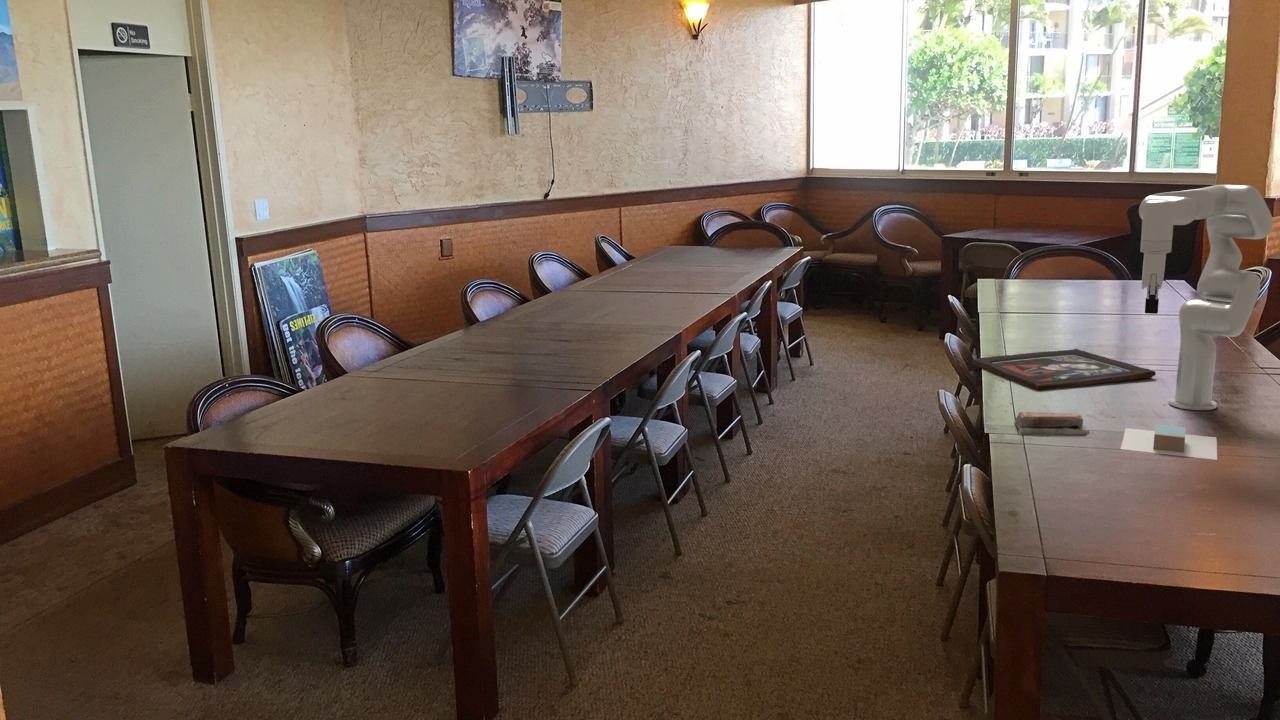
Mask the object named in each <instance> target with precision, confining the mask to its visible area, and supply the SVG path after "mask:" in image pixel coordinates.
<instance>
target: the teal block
mask: <svg viewBox="0 0 1280 720" xmlns="http://www.w3.org/2000/svg"><path fill="white" fill-rule="evenodd" d="M1186 430H1187V428H1186V426H1180V425H1178V426H1177V425H1170V424H1169V425H1168V424H1157V423H1155V429H1154V431H1155V434H1154V446H1153V449H1155V450H1164V451H1173V452H1183V453H1184V444H1185V434H1186Z"/></svg>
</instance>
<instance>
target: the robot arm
mask: <svg viewBox="0 0 1280 720" xmlns="http://www.w3.org/2000/svg"><path fill="white" fill-rule="evenodd" d="M1138 214H1139V218H1140V220H1141V235H1140V236H1141V237H1140V249H1139V250H1140V253H1143V262H1142V273H1141V275H1142V276H1141V289H1142V290H1145V289H1146V288H1147V289H1146V290H1147V291H1146V297H1145V302H1144V303H1145V304H1144V314H1154V315H1155V314H1158V313H1159V303H1160V302H1159V290H1161V289H1162V286H1163V282H1164V279H1165V278H1164V277H1165V268H1166V262H1167V261H1166V259H1167V254H1169V253H1172V248H1173V247H1172V246H1173V235H1174V233H1173V232H1174V226H1187V225H1188V224H1190V223H1192V222H1193V221H1194V220H1195V221H1196V220H1203V219H1206V220H1205V221H1206V223H1205V224H1206V225H1205V226H1206V231H1207V236H1208V241H1209V248H1210V250H1209V254H1208V257H1207V260H1206V263H1205V265H1204V268H1203V269H1202V272H1201V275H1200V277H1199V280H1198V282H1197V285H1196V286H1197V287H1196V291H1197V294H1198V295H1199V296H1200V297H1202V298H1203V299H1191V300H1187V301H1184V303H1183V304H1182V305H1181V306H1180V308H1179V312H1178V324H1179V335H1180V337H1179V352H1178V360H1177V361H1178V362H1177V371H1176V383H1175V393H1174V396H1172V397H1169V399H1168V404H1170V406H1172V407H1175V408H1178V409H1183V410H1190V411H1210V410H1211V411H1212V410H1214V409H1216V408H1217V406H1218V403H1217V402H1216V401H1215V400H1212V399H1213V398H1212V396H1213V387H1214V376H1215V366H1216V360H1217V359H1216V357H1217V346H1216V343H1215V340H1214V339H1213V337H1212V336H1213V335H1214V336H1222V337H1229V338H1235V337H1238V336H1240V335H1241V334H1242V333H1243V331H1244V330H1245V329H1246V326H1247V324H1248V322H1249V319H1250V317H1251V314H1252V312H1253V311H1254V307H1255V305H1256V303H1257V300H1258V299H1259V295H1260V290H1261V279H1260V277H1259V275H1258V274H1257V273H1255V272H1253V271H1251V270H1243V269H1240V265H1241V264H1242V261H1243V254H1242V252H1241V250H1240V247H1238V245H1237V244H1236V242H1235V240H1234V239H1244V240H1246V239H1247V240H1263V239H1265V238H1266V237H1267V236H1269V234H1271V231H1272V229H1273V223H1274V222H1273V217H1272V213H1271V211H1270V209H1269V206H1268V205H1267V203H1266V201H1265V199H1264V198H1263V196H1262V193H1260V191H1259V190H1258V189H1257V188H1256V187H1254V186H1252V185H1247V184H1246V185H1243V184H1241V185H1240V184H1216V185H1211V186H1205V187H1201V188H1196V189H1195V188H1194V189H1187V190H1185V189H1184V190H1180V191H1170V192H1169V191H1168V192H1160V193H1155V194H1151V195H1148V196H1146V197H1145V198H1144V199H1143V200H1142V201H1141V203H1140V205H1139V208H1138Z"/></svg>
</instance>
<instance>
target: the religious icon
mask: <svg viewBox="0 0 1280 720" xmlns="http://www.w3.org/2000/svg"><path fill="white" fill-rule="evenodd" d="M971 364H972V365H974V366H975V367H978V368H981V369H983V370H985V371H988V372H990V373H992V374H995V375H998V376H1001V377H1003V378H1006V379H1008V380H1010V381H1013V382H1015V383H1018V384H1020V385H1022V386H1025V387H1026V388H1027V387H1028V388H1029V389H1032V390H1035V391H1046V390H1056V389H1057V390H1058V389H1066V388H1072V387H1073V388H1076V387H1084V386H1089V385H1098V384H1106V383H1107V384H1109V383H1115V382H1126V381H1133V380H1142V379H1143V380H1145V379H1151V378H1153V377H1155V376H1156V371H1155V370H1151V369H1150V368H1146V367H1145V368H1144V367H1140V366H1137V365H1133V364H1131V363H1127V362H1124V361H1123V362H1122V361H1120V360H1115V359H1112V358H1110V357H1109V358H1108V357H1105V356H1101V355H1098V354H1094V353H1092V352H1087V351H1085V350H1081V349H1078V348H1074V349H1064V350H1062V349H1061V350H1060V349H1059V350H1053V351H1039V352H1037V351H1036V352H1027V353H1017V354H1010V355H1009V354H1008V355H996V356H987V357H986V356H985V357H979V358H974V359H971Z"/></svg>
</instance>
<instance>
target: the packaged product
mask: <svg viewBox="0 0 1280 720" xmlns="http://www.w3.org/2000/svg"><path fill="white" fill-rule="evenodd" d="M1014 425H1015V427H1016V428H1017V429H1018V431H1019V432H1020V433H1021V434H1040V435H1044V434H1045V435H1087V434H1089V433H1090V429H1089V428H1087V427H1086V426H1085V425H1084V419H1083V417H1082V415H1081V414H1077V413H1069V412H1068V413H1065V412H1042V411H1041V412H1039V411H1038V412H1037V411H1035V412H1034V411H1019V412H1018V415H1016V417H1015V420H1014Z"/></svg>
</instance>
